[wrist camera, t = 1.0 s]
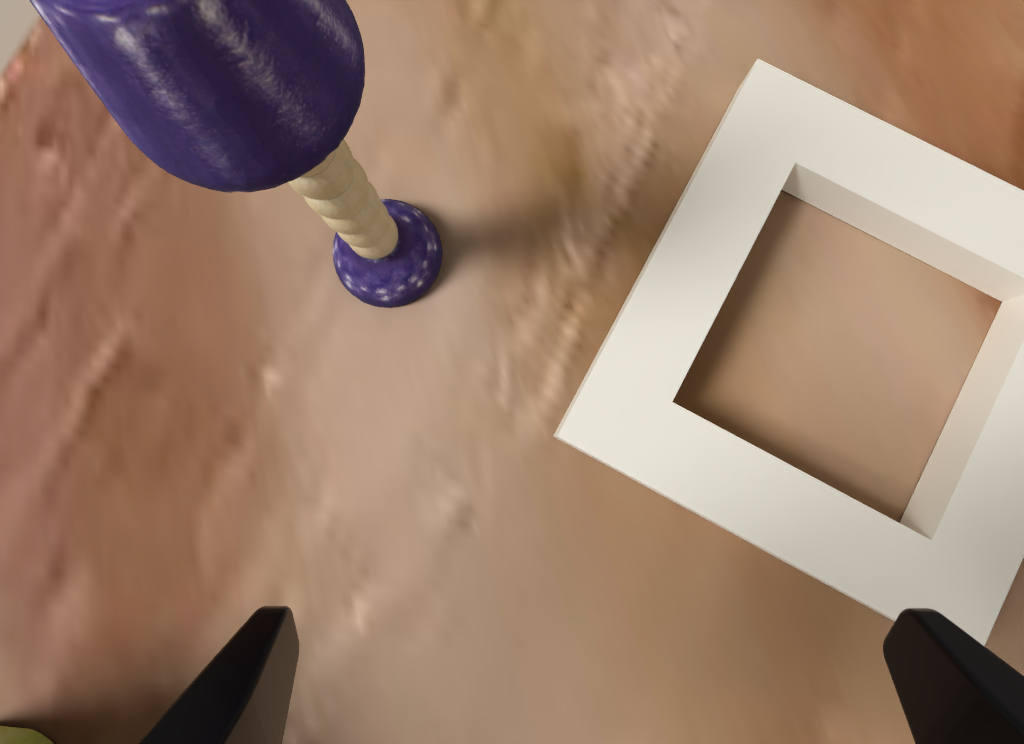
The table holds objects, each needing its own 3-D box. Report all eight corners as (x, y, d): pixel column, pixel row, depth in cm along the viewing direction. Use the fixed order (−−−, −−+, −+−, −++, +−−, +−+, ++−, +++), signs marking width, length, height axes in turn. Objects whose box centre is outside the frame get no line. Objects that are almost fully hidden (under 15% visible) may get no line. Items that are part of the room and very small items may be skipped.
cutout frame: (935, 644, 23) (976, 663, 21) (553, 436, 23) (557, 436, 21) (1102, 271, 24) (1156, 256, 22) (738, 88, 25) (757, 58, 23)
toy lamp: (454, 310, 24) (321, 22, 7) (336, 333, 24) (-69, 94, 7) (431, 194, 24) (260, -322, 8) (316, 216, 24) (-107, -259, 8)
